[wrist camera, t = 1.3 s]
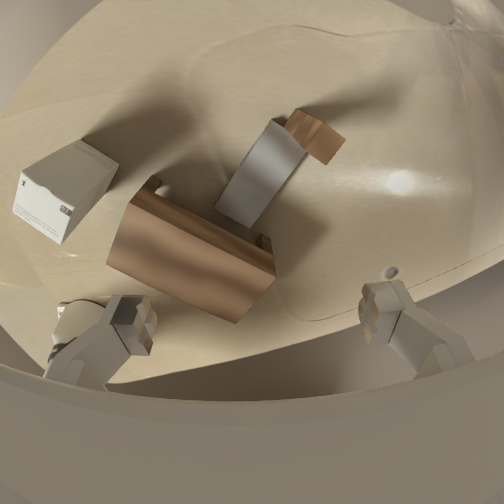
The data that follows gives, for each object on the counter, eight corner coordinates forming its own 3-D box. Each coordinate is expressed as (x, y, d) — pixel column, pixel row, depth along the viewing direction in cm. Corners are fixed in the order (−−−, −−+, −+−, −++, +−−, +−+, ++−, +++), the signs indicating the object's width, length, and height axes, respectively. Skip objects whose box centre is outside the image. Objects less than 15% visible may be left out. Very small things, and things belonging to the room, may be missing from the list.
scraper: (284, 100, 33) (308, 110, 21) (321, 126, 35) (360, 151, 23) (214, 204, 41) (203, 261, 29) (249, 224, 43) (253, 285, 31)
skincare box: (66, 169, 36) (8, 212, 23) (81, 135, 33) (18, 169, 21) (107, 196, 39) (59, 249, 26) (124, 163, 36) (73, 208, 24)
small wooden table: (236, 282, 49) (235, 324, 41) (127, 228, 42) (105, 264, 34) (270, 238, 44) (276, 277, 36) (151, 175, 38) (128, 202, 30)
